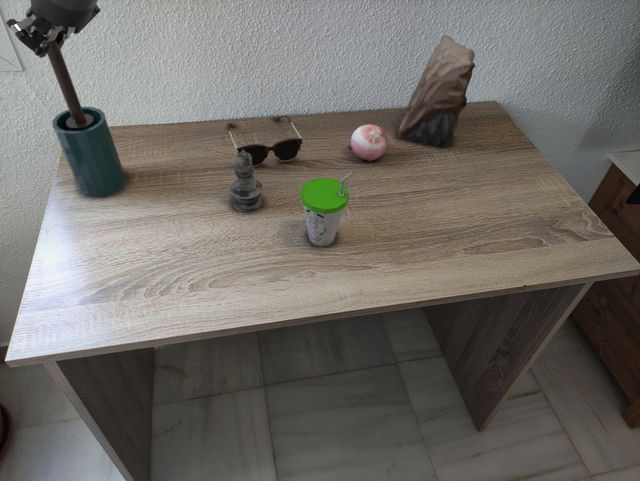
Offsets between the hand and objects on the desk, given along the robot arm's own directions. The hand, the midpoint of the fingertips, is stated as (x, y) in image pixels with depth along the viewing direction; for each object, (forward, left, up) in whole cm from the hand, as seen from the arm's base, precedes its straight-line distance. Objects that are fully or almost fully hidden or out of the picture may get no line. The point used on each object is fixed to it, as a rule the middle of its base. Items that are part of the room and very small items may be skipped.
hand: (45, 48), depth 72 cm
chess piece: (+26, -16, -26) cm, 40 cm away
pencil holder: (+1, -2, -26) cm, 26 cm away
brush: (+1, -2, -18) cm, 18 cm away
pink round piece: (+54, -9, -26) cm, 61 cm away
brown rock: (+70, -5, -26) cm, 75 cm away
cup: (+36, -29, -26) cm, 53 cm away
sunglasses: (+34, +2, -26) cm, 43 cm away
